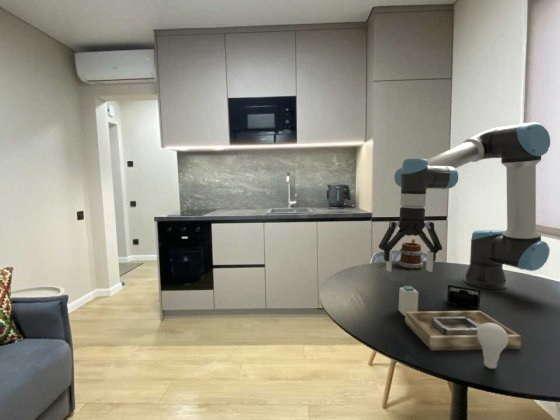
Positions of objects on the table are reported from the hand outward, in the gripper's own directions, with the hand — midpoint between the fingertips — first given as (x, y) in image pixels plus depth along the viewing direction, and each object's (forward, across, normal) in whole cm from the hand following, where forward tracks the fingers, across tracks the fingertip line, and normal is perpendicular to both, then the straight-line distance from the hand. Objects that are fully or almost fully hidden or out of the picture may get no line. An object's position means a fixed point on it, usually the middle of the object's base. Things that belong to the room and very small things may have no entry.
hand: (408, 271), depth 104 cm
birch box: (+14, -8, +15) cm, 22 cm away
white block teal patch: (+14, 0, 0) cm, 14 cm away
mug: (+14, -26, -55) cm, 63 cm away
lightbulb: (+15, -6, +31) cm, 35 cm away
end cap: (+14, -22, -5) cm, 27 cm away
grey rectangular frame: (+14, -8, +14) cm, 22 cm away
